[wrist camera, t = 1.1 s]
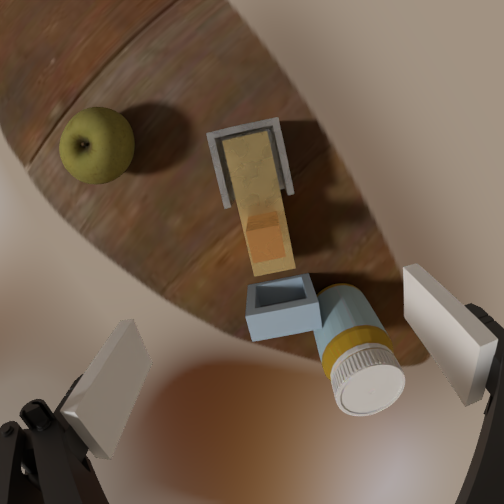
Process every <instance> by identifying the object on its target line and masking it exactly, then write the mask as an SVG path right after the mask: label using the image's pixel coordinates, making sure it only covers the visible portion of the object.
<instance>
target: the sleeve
mask: <svg viewBox="0 0 504 504" xmlns="http://www.w3.org/2000/svg"><path fill="white" fill-rule="evenodd" d="M264 131H267V133H268V137H269V142H270V146H271V151H272V155H273V160H274V164H275V169H276V173H277V178H278V183H279V188H280V190H281V189H285V191H286V192H287V194H288V195H292V194H294V189H293V184H292V179H291V174H290V169H289V164H288V160H287V155H286V150H285V146H284V141H283V137H282V132H281V128H280V123H279V119H278V117H277V118H272V119H267V120H262V121H257V122H252V123H248V124H243V125H239V126H234V127H230V128H226V129H222V130H218V131H214V132H210V133H206V135H207V139H208V143H209V147H210V151H211V155H212V160H213V164H214V168H215V172H216V176H217V180H218V184H219V188H220V192H221V196H222V200H223V204H224V209H226V208H230V207H231V206H232V204H233V202H234V200H235V199H236V197H235V193H234V189H233V185H232V181H231V176H230V172H229V168H228V164H227V160H226V155H225V151H224V147H223V143H222V141H224V140H228V139H232V138H236V137H241V136H245V135H250V134H254V133H259V132H264Z"/></svg>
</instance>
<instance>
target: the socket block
mask: <svg viewBox="0 0 504 504" xmlns="http://www.w3.org/2000/svg"><path fill="white" fill-rule="evenodd" d="M245 317H246V320H247V324H248V328H249V331H250V335H251V339H252V341H258V340H264V339H270V338H275V337H281V336H286V335H292V334H297V333H302V332H307V331H312V330H317V329H321V328H322V323H321V316H320V309H319V302H318V299H317V296H316V293H315V290H314V287H313V284H312V282H311V279H310V276H309V273H307V274H302V275H297V276H292V277H287V278H282V279H277V280H272V281H267V282H262V283H256V284H251V285H248V291H247V303H246V315H245Z"/></svg>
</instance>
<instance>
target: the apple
mask: <svg viewBox="0 0 504 504" xmlns="http://www.w3.org/2000/svg"><path fill="white" fill-rule="evenodd" d="M134 148H135V141H134V135H133V131H132V128H131V126H130V124H129V123H128V121H127V120H126V119H125V118H124V117H123V116H122V115H121V114H119V113H118V112H116V111H114V110H112V109H108V108H104V107H92V108H87V109H84V110H82V111H80V112H79V113H77V114H76V115H75V116H74V117H73V118H72V119H71V120H70V121H69V122H68V124H67V125H66V127H65V129H64V131H63V133H62V136H61V139H60V145H59V152H60V157H61V160H62V163H63V165H64V166H65V168H66V169H67V170H68V172H69V173H70V174H71V175H72V176H74V177H75V178H76V179H78V180H80V181H82V182H85V183H88V184H104V183H108V182H111V181H113V180H115V179H116V178H118V177H119V176H120V175H122V174H123V173H124V172H125V171H126V169H127V168H128V166H129V165H130V163H131V161H132V158H133V155H134Z"/></svg>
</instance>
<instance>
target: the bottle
mask: <svg viewBox="0 0 504 504" xmlns="http://www.w3.org/2000/svg"><path fill="white" fill-rule="evenodd" d="M316 296H317V299H318V302H319V309H320V316H321V323H322V328H321V329H317V330H313V331H314V335H315V339H316V343H317V347H318V351H319V355H320V359H321V363H322V366H323V369H324V372H325V375H326V376H327V378H328V379H329V380H330V381H331V383H332V388H333V391H334V395H335V400H336V403H337V405H338V406H339V408H340V409H341V410H342V411H343V412H345V413H346V414H349V415H352V416H367V415H372V414H375V413H378V412H380V411H382V410H384V409H386V408H387V407H389V406H390V405H391V404H393V403H394V402H395V401H396V400H397V399H398V397H399V396H400V395H401V393H402V391H403V389H404V386H405V376H404V373H403V371H402V369H401V367H400V365H399V363H398V361H397V359H396V358H395V357H394V354H393V345H392V342H391V340H390V337H389V336H388V334H387V332H386V331H385V329H384V327H383V326H382V324H381V322H380V321H379V319H378V317H377V316H376V314H375V312H374V311H373V309H372V307H371V306H370V304H369V302H368V301H367V299H366V298H365V296H364V295H363V293H362V292H361V291H360V290H359V289H358V288H357V287H355V286H353V285H350V284H346V283H339V284H333V285H331V286H328V287H326V288H324V289H323V290H322V291H320V292H319V293H318V294H317V295H316Z"/></svg>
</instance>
